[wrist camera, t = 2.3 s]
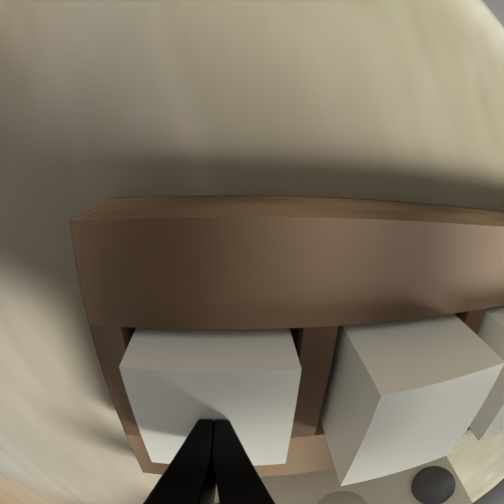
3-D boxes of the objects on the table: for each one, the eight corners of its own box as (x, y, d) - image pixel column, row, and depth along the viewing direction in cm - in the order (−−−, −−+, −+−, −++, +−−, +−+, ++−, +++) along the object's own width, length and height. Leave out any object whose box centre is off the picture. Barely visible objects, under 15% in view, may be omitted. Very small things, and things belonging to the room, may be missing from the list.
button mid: (440, 301, 10) (504, 362, 6) (409, 388, 11) (449, 454, 8) (333, 309, 10) (381, 395, 6) (315, 404, 11) (340, 486, 7)
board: (531, 216, 11) (571, 233, 8) (474, 387, 15) (497, 416, 12) (110, 199, 10) (70, 220, 7) (152, 425, 13) (143, 472, 10)
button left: (278, 293, 11) (301, 368, 7) (272, 386, 12) (285, 463, 8) (152, 294, 11) (118, 366, 7) (167, 386, 12) (152, 462, 8)
